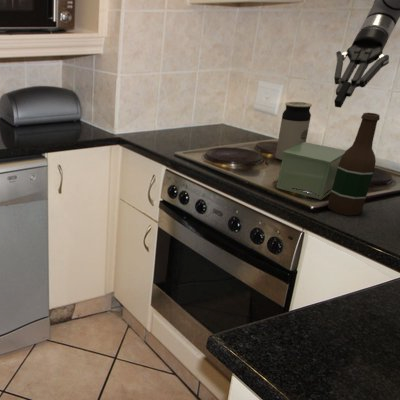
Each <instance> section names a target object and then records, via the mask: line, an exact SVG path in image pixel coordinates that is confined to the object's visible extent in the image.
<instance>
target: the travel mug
mask: <svg viewBox="0 0 400 400" xmlns="http://www.w3.org/2000/svg"><path fill="white" fill-rule="evenodd" d="M284 104H285V109H284V111H283V112H282V116H281V121H280V126H279V133H278V139H277V145H276V151H275V158H276V159H277V160H279V161H282V159H283V151H285V150H287V149H289V148H292V147H294V146H296V145H298V144H300V143H302V142H307V138H308V132H309V128H310V122H311V117H312V113H311V112H310V110H311V107H312V106H313V104H312V103H310V102H304V101H287V102H286V101H285V103H284Z"/></svg>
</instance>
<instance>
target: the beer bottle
mask: <svg viewBox="0 0 400 400" xmlns="http://www.w3.org/2000/svg"><path fill="white" fill-rule="evenodd" d="M360 119H361V122H360V124H359V127H358V131H357V133H356V136H355V138H354V141H353V143H352V144H351V146H350V147H349V148H347V149H345V150H346V151H345V153H344V154H343V156H342V157H341V160H340V163H339V165H338V169H337V172H336V176H335V180H334V183H333V187H332V191H331V193H330V194H329V198H328V203H327V209H328V210H330V211H332V212H334V213H335V214H339V215H345V216H350V217H351V216H360V215H361V213H362V211H363V208H364V206H365V202H366V198H367V195H368V192H369V189H370V185H371V182H372V178H373V176H374V173H375V167H376V162H377V161H376V154H375V152H374V149H373V144H374V143H373V142H374V138H375V135H376V129H377V124H378V121H380V119H381V118H380V114H378V113H376V112H375V113H374V112H363V113H362V115H361V116H360Z"/></svg>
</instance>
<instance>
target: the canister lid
mask: <svg viewBox="0 0 400 400" xmlns="http://www.w3.org/2000/svg"><path fill="white" fill-rule="evenodd" d="M346 150H347V149H341V148H335V147H331V146H325V145H321V144H316V143H311V142H307V141H306V142H302V143H300V144H298V145H296V146H294V147H292V148H289V149H287V150H285V151H283V155H288V156H292V157H297V158H301V159H306V160H310V161H315V162H319V163H324V164H328V165H330V164H332V163H333V162H335V161H337V160H338V159H340V158H341V157H342V156H343V154H344V153H345V151H346Z"/></svg>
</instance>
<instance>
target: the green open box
mask: <svg viewBox="0 0 400 400" xmlns="http://www.w3.org/2000/svg"><path fill="white" fill-rule="evenodd" d="M340 160H341V158H340V159H338V160H337V161H335V162H333V163H332V164H330V165H328V164H324V163H319V162H315V161H310V160H306V159H301V158H297V157H292V156H288V155H283V159H282V160H281V164H280V168H279V173H278V177H277V182H276V186H275V188H276V189H279V190H283V191H287V192H291V193H294V194H297V195H301V196H304V197H309V198H312V199H316V200H319V201H322V200H323V199H325V198H326V197H328V196H330V194H331V191H332V190H331V191H329V192H328V193H326V192H327V191H328V190H329V189H331V188H332V187H333V183H334V180H335V176H336V172H337V169H338V165H339V163H340ZM292 188H297V189H303V190H308V191H312V192H314V193H316V194H317V195H315V194H311V193H307V192H303V191H300V190H296V189H292ZM325 193H326V194H325ZM324 194H325V195H324ZM318 195H319V196H318Z"/></svg>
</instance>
